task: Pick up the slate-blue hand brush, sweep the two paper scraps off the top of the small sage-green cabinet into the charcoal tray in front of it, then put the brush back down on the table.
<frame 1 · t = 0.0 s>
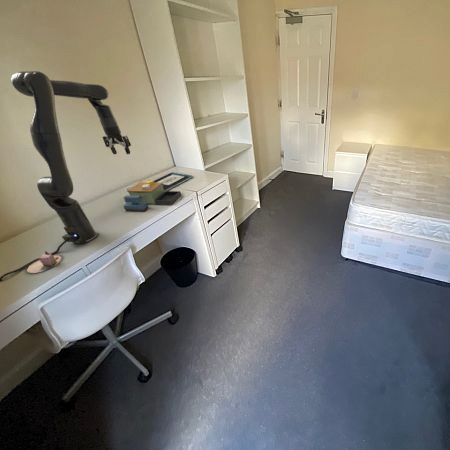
hand: (122, 154, 152), 29 cm above the table, tool pointing down, fingers open, 8 cm apart
scrap yellow: (150, 184, 163), point 9 cm above the table, touching cabinet
brush: (137, 209, 155), on the table
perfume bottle: (45, 264, 115), on the table
cabinet: (150, 199, 166), on the table
tray: (169, 199, 165), on the table
scrap white: (146, 188, 158), point 9 cm above the table, touching cabinet
sketchbook: (167, 183, 188), on the table
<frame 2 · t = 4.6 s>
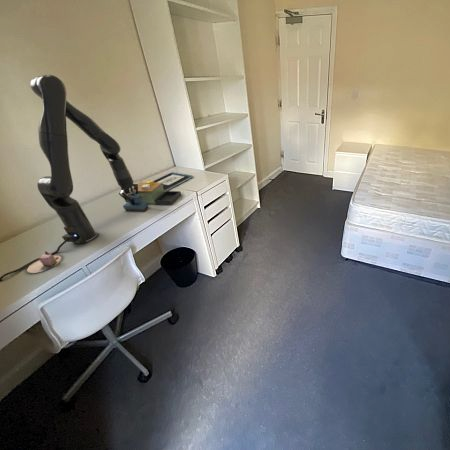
hand: (134, 203, 153), 4 cm above the table, tool pointing down, fingers closed on brush, 2 cm apart
brush: (137, 209, 155), on the table, touching gripper
everything else where it was.
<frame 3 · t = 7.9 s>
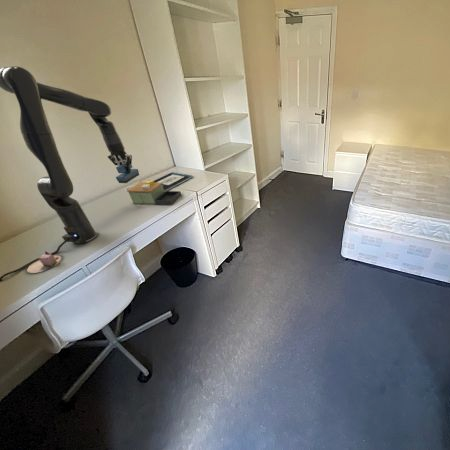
hand: (126, 172, 148), 22 cm above the table, tool pointing down, fingers closed on brush, 2 cm apart
brush: (129, 178, 151), point 17 cm above the table, touching gripper
everything else where it was.
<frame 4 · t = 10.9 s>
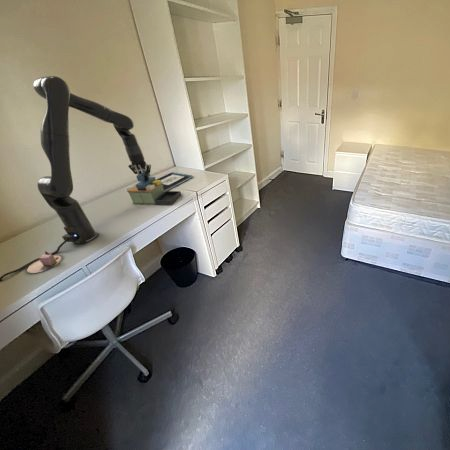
hand: (145, 180, 159), 13 cm above the table, tool pointing down, fingers closed on brush, 2 cm apart
scrap yellow: (157, 184, 163), point 9 cm above the table, touching brush
brush: (147, 186, 161), point 9 cm above the table, touching gripper, scrap yellow
scrap white: (150, 188, 158), point 9 cm above the table, touching cabinet
everything else where it was.
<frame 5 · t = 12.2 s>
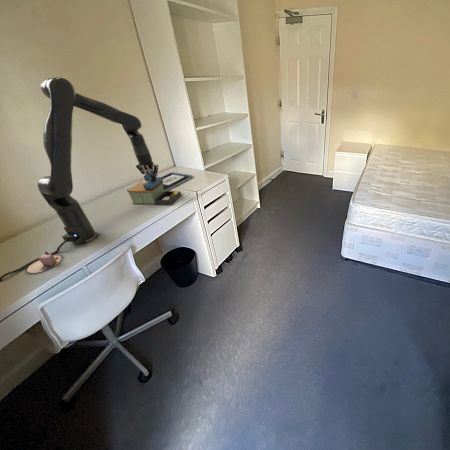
hand: (152, 180, 158), 13 cm above the table, tool pointing down, fingers closed on brush, 2 cm apart
scrap yellow: (176, 194, 167), point 2 cm above the table, tilted 41°, touching tray
brush: (154, 186, 160), point 9 cm above the table, touching cabinet, gripper
scrap white: (165, 198, 161), point 2 cm above the table, tilted 180°, touching tray
everything else where it was.
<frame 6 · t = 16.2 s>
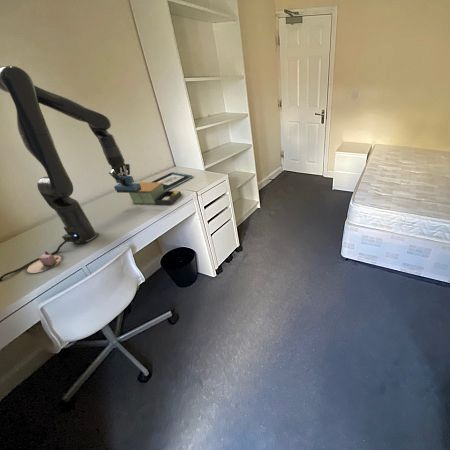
hand: (126, 184, 146), 17 cm above the table, tool pointing down, fingers closed on brush, 2 cm apart
brush: (129, 191, 148), point 12 cm above the table, touching gripper
everything else where it was.
when the fingers open (4 cm above the table, at t = 19.1 s): brush stays where it is, on the table.
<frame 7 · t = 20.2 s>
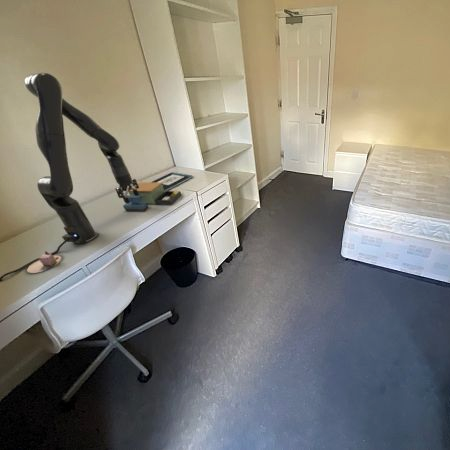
hand: (132, 199, 151), 7 cm above the table, tool pointing down, fingers open, 8 cm apart
brush: (137, 209, 155), on the table
everything else where it was.
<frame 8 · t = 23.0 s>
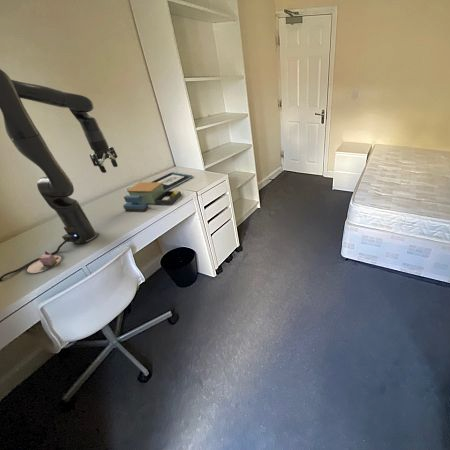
hand: (110, 169, 140), 26 cm above the table, tool pointing down, fingers open, 8 cm apart
nothing on the table moved.
at the end: scrap white inside the target area in the tray (2.6 cm from its centre), point 2.5 cm above the tray's base; scrap yellow inside the target area in the tray (5.0 cm from its centre), point 1.7 cm above the tray's base; brush inside the target area (0.1 cm from its centre), on the table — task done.
